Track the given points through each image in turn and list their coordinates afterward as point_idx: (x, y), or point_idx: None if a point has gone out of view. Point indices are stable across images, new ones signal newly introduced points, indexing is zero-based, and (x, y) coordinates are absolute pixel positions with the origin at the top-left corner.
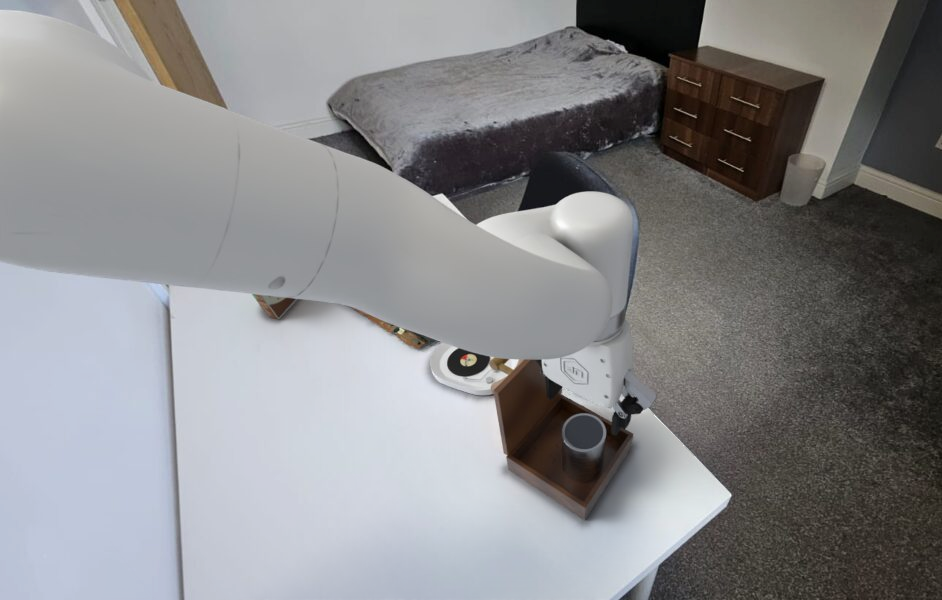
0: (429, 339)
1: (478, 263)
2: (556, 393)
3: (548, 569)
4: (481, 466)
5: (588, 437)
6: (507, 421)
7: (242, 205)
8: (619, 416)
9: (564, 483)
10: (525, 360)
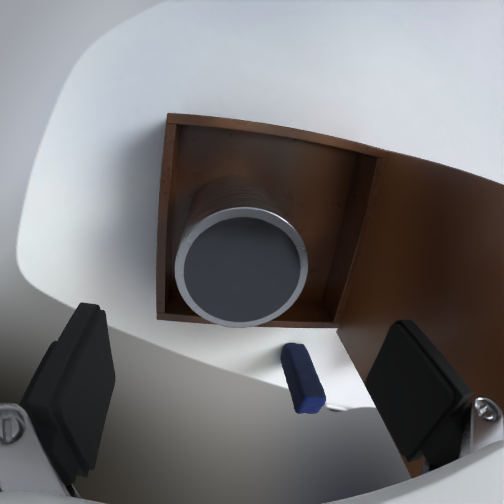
0: None
1: None
2: (383, 348)
3: (200, 14)
4: (404, 135)
5: (221, 263)
6: (463, 191)
7: None
8: (22, 410)
9: (246, 160)
10: None
